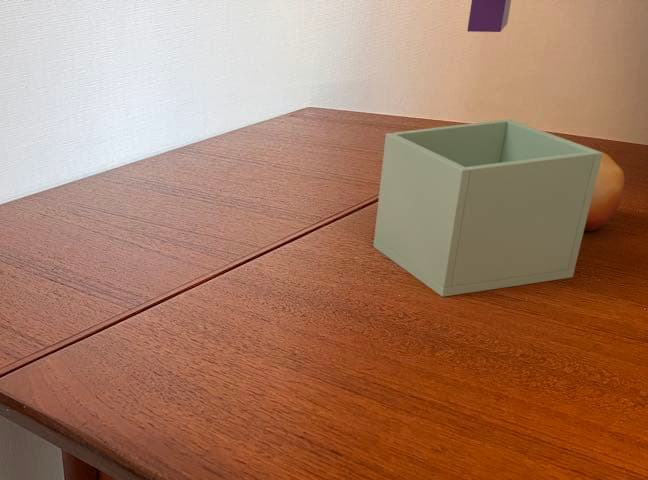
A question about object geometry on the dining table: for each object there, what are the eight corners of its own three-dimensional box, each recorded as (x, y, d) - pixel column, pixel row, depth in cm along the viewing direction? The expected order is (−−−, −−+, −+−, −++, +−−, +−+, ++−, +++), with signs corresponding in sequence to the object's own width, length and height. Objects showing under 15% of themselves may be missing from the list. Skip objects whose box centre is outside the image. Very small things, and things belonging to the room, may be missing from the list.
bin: (489, 230, 85) (509, 118, 79) (573, 277, 74) (603, 152, 69) (373, 246, 83) (385, 133, 77) (442, 297, 72) (462, 170, 67)
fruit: (631, 200, 86) (640, 140, 79) (603, 260, 83) (610, 204, 77) (546, 188, 90) (548, 130, 84) (517, 244, 88) (517, 190, 82)
